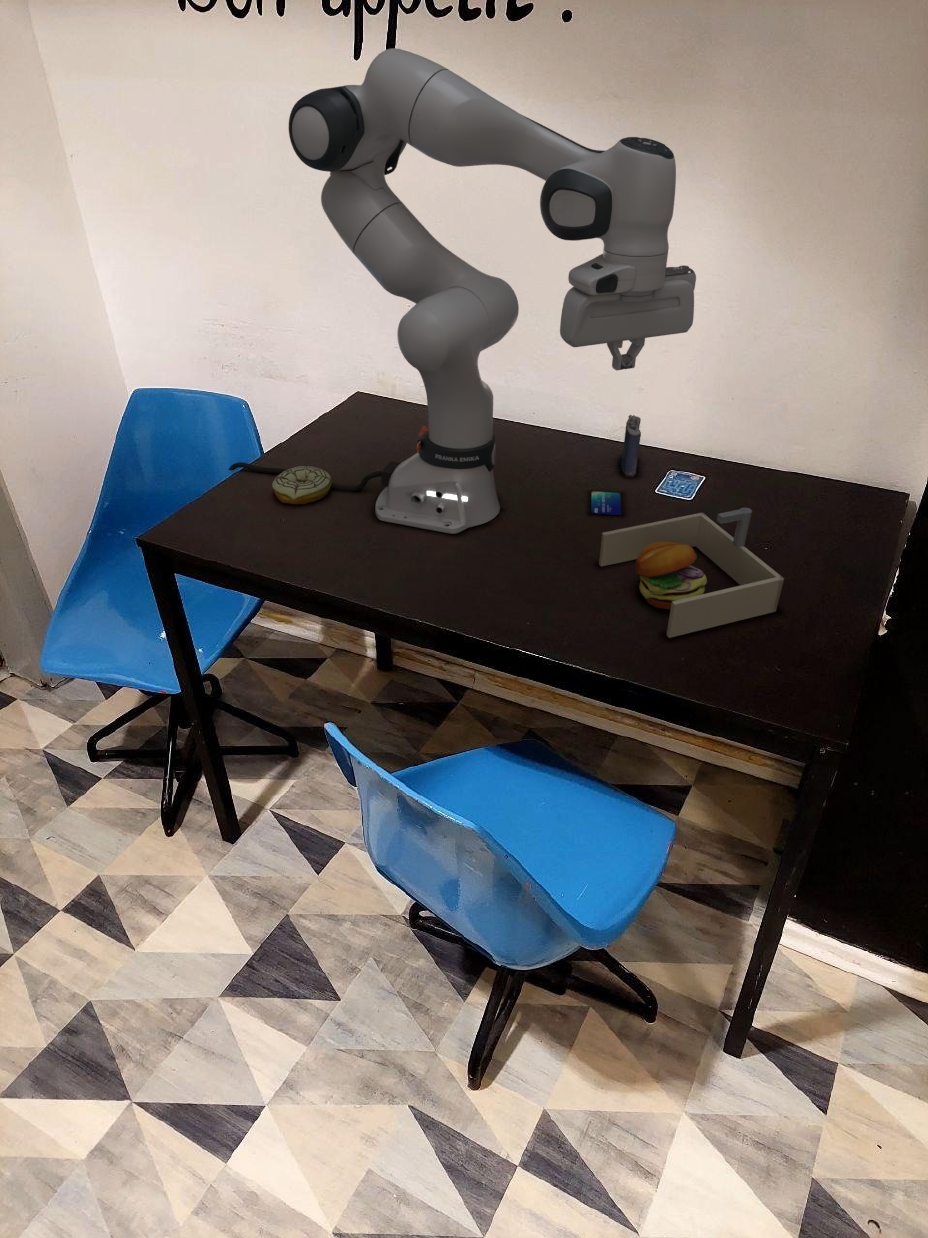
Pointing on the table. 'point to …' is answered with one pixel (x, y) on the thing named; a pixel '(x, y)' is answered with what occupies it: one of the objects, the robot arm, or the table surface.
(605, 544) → the grey u-shaped wall
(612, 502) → the credit card
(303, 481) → the decorated donut
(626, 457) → the flask
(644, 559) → the cheeseburger
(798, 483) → the table surface
